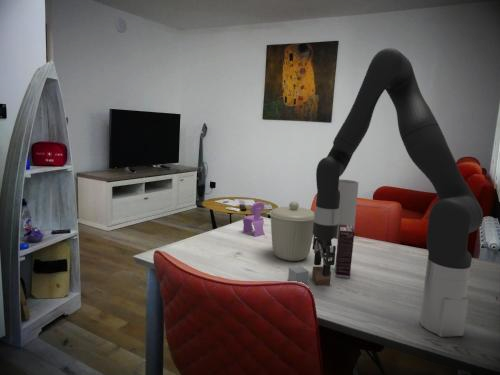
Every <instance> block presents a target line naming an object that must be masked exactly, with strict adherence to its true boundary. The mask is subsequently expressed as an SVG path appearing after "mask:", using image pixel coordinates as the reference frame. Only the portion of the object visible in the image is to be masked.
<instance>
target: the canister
mask: <svg viewBox="0 0 500 375" xmlns="http://www.w3.org/2000/svg"><path fill="white" fill-rule="evenodd" d="M314 212H315V211H313V210H311V209H308V208H305V207H300V205H299V202H298V201H290V202H289V204H288V206H279V207H275V208H273V209H272V210H270V211H269V212H268V215H269V216H270V230H271V244H272V245H271V246H272V250H273V251H272V252H273V254H274V256H276V257H277V258H279V259H281V260H284V261H290V262H292V261H293V262H297V261H303V260H305V259H307V258H308V256H309V254H310V252H311V248H312V245H313V238H314V235H313V223H314Z"/></svg>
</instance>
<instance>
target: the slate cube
mask: <svg viewBox="0 0 500 375" xmlns="http://www.w3.org/2000/svg"><path fill="white" fill-rule="evenodd" d="M309 273H310V271H309V270H308V269H307V268H304V267H303V266H302V265H299V266H298V265H297V266H291V267H288V277H287V281H288V282H289V281H297V282H302V283H304V284H306V285H305V286H308V285H309Z"/></svg>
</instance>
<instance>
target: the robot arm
mask: <svg viewBox="0 0 500 375" xmlns="http://www.w3.org/2000/svg"><path fill="white" fill-rule="evenodd" d="M384 91H386V93H387V95H388V97H389V99H390V100H391V101H392V104H393V106H394V109H395V112H396V120H397V126H398V128H397V129H398V132H399V136H400V138H401V141H402V144H403V146H404V148H405V151H406V152H407V155H408V156H409V159H410V160H411V161H412V163H413V164H414V165H415V166H416V167H417V168H418V169H419V170H420V172H421V173H423V175H424V176H425V177H426V178H427V179H428V181H429V182H430V183H431V184H432V186H433V188H434V190H435V192H436V194H437V198H438V199H439V200H438V201H436V202H435V203H434V204H433V206H432V207H431V208H430V210H429V211H430V212H429V214H428V215H429V216H428V221H427V222H428V223H427V232H426V233H427V234H426V249H427V252H428V255H427V262H426V270H425V276H424V277H425V278H424V286H423V292H422V299H421V309H420V314H419V324H420V325H421V326H422V327H423V328H424V329H426V330H427V331H429V332H430V333H433V334H435V335H438V336H439V337H441V338H443V337H444V338H445V337H463V336H464V332H465V326H466V320H467V312H468V306H469V299H468V298H467V291H468V284H469V279H470V271H471V266H472V259H473V258H472V257H473V255H472V254H471V252H469V251H468V242H469V234H471V233H473V232H475V231H477V230H479V228H480V227H482V225H483V220H484V212H483V209H482V207H481V205H480V203H479V201H478V200H477V198H476V196H475V195H474V193H473V191H472V190H471V188H470V187H469V185H468V183H467V182H466V181H465V180H466V179H464V177H463V175H462V173H461V171H460V169H459V167H458V164H457V162H456V159H455V158H454V156H453V153H452V151H451V149H450V147H449V144H448V143H447V140H446V138H445V136H444V133H443V131H442V129H441V127H440V125H439V123H438V121H437V119H436V117H435V116H434V114H433V112H432V110H431V108H430V106H429V105H428V103H427V102H426V100H425V98H424V96H423V95H422V93H421V89H420V87H419V84H418V81H417V78H416V76H415V72H414V69H413V66H412V63H411V61H410V60H409V58H407V56H405V54H403V53H402V52H401V51H399V50H398V49H397V48H393V47H386V48H383V49H381V50H379V51H378V52H377V53H376V54H374V56H373V58H372V59H371V61H370V63H369V65H368V67H367V70H366V72H365V75H364V78H363V81H362V82H361V85H360V87H359V90H358V92H357V95H356V97H355V100H354V102H353V105H352V106H351V109H350V110H349V113H348V115H346V118H345V120H344V122H343V123H342V124H341V127H340V128H339V130H338V132H337V134H336V135H335V137H334V140H333V141H332V148H330V151H329V152H328V154H327V155H326V157H324V158H321V160H319V162H318V164H317V166H316V169H315V170H316V173H315V177H316V178H315V180H316V181H315V182H316V190H317V192H316V200H315V209H314V211H313V212H314V223H313V239H312V246H311V248H312V251H313V254H314V259H313V260H314V261H313V264H314V266H323V271H322V275H323V276H330V271H331V269H332V268H331V267H332V266H335V263H336V252H337V245H333V242H332V240H333V239H337V238H336V237H337V232H338V222H339V204H340V191H339V190H338V187H339V179H340V178H341V176H342V175H343V174H344V172H345V171H346V169H347V167H348V165H349V163H350V162H351V159H352V158H353V155H354V153H355V152H356V150H357V149H358V147H359V146H360V144H361V142H362V141H363V139H364V138H365V136H366V134H367V132H368V129H369V127H370V125H371V121H372V118H373V113H374V112H375V109H376V108H375V107H376V106H377V103H378V102H379V100H380V97H382V94H383V93H384Z"/></svg>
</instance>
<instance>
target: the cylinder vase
mask: <svg viewBox="0 0 500 375" xmlns="http://www.w3.org/2000/svg"><path fill="white" fill-rule="evenodd" d="M338 190H339V191H340V204H339V222H338V232H339V225H340V224H341V225H351V226H353V229H354V230H355V225H356V215H357V214H356V213H357V206H358V204H357V202H358V192H359V182H358V181H357V180H356V181H355V180H350V179H341V178H339V187H338ZM338 232H337V237H336V238H335V239H338Z"/></svg>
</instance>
